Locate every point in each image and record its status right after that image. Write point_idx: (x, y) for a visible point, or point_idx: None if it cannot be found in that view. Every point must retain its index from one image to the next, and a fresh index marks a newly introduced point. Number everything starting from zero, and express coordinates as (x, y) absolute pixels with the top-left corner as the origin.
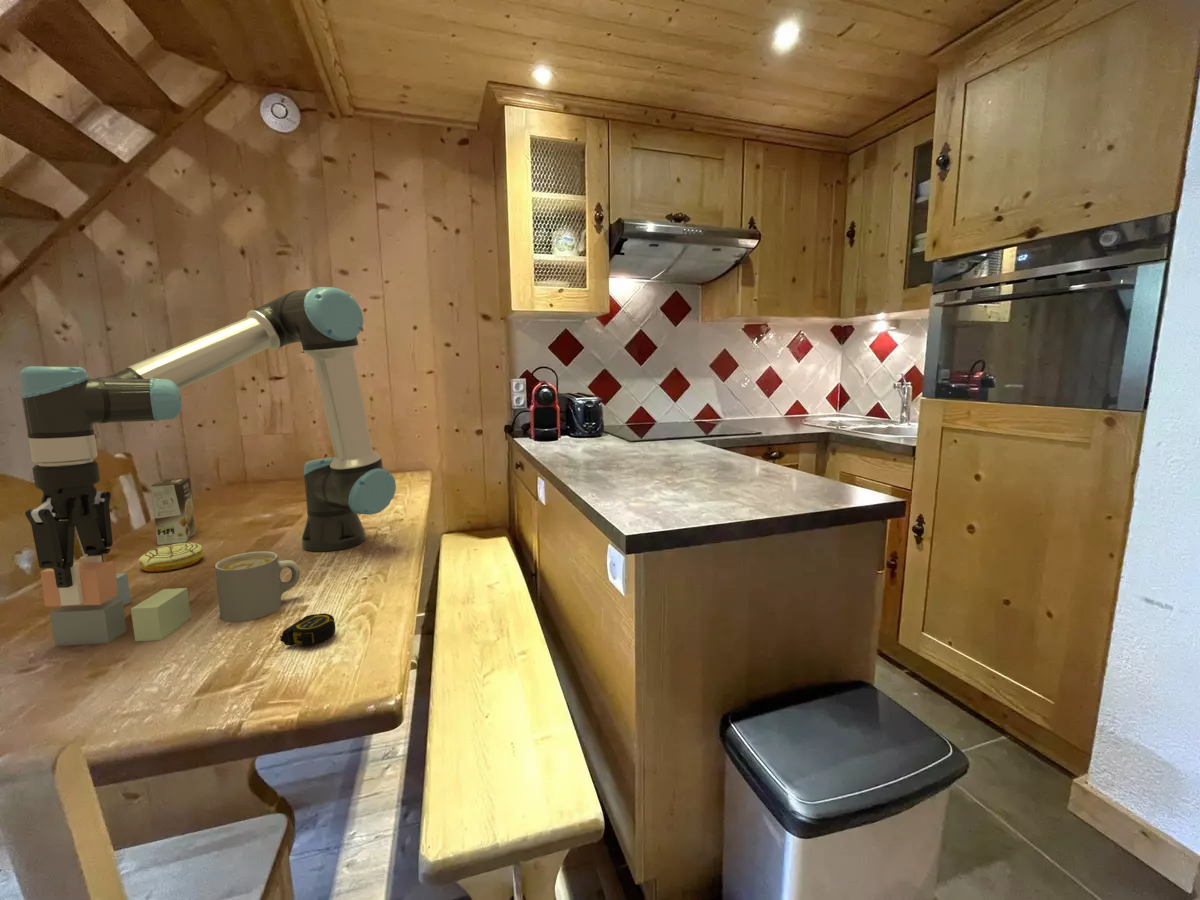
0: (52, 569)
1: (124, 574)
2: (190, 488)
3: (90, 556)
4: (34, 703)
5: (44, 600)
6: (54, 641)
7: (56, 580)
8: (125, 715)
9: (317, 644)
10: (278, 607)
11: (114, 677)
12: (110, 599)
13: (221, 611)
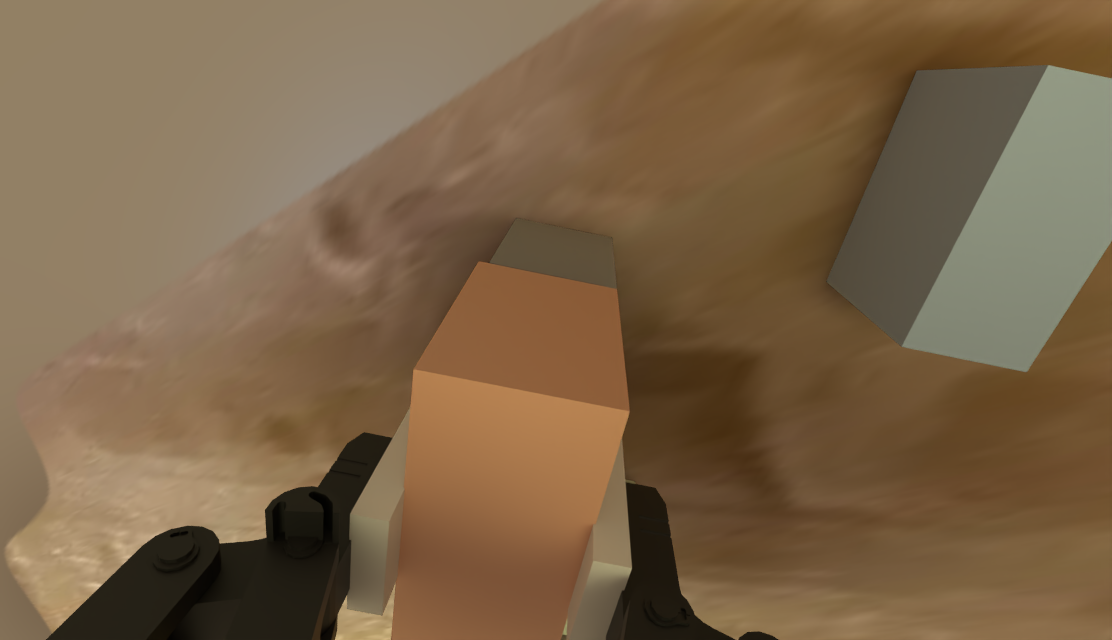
0: (454, 424)
1: (1010, 366)
2: None
3: (596, 609)
4: (147, 358)
5: (470, 275)
6: (513, 223)
7: (330, 471)
8: (105, 550)
9: None
10: None
11: (262, 477)
12: (856, 289)
13: (565, 637)
